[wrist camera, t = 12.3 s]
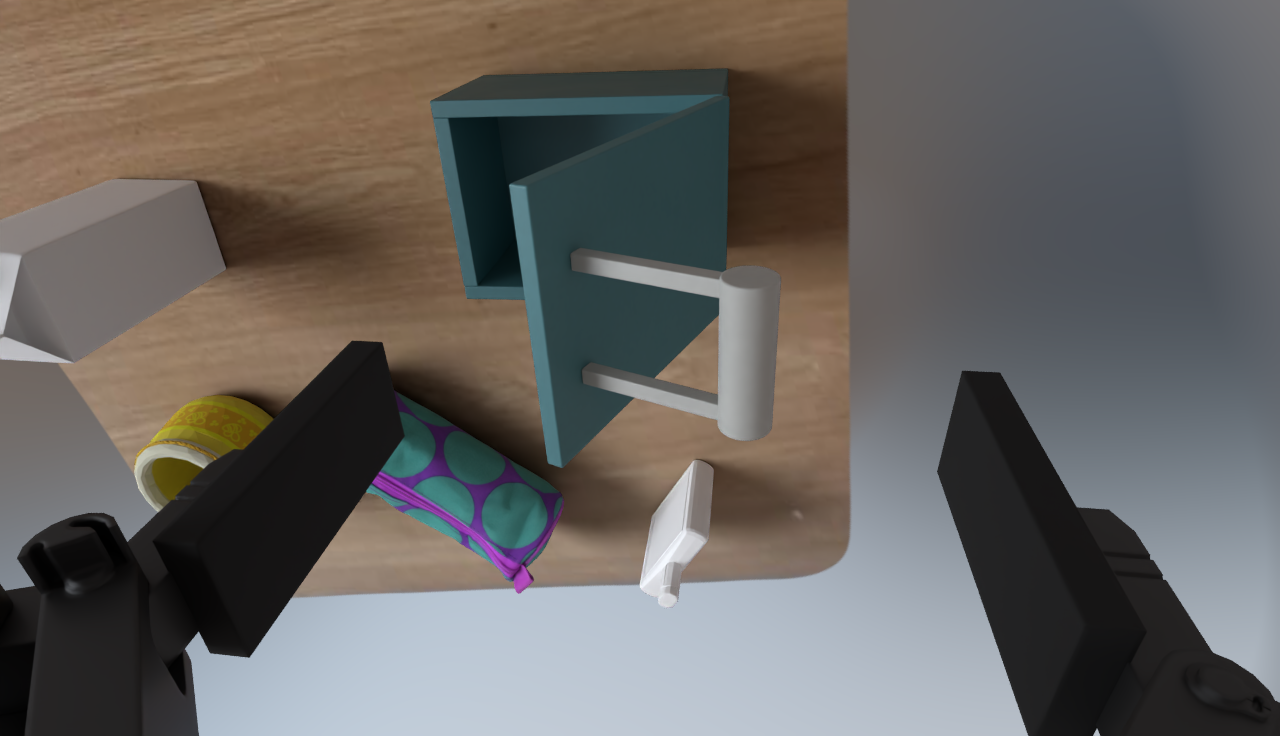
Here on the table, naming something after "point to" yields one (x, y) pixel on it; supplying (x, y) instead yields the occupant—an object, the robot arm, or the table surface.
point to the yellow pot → (194, 444)
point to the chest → (537, 147)
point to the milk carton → (100, 265)
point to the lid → (642, 282)
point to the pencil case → (469, 492)
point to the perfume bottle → (677, 533)
